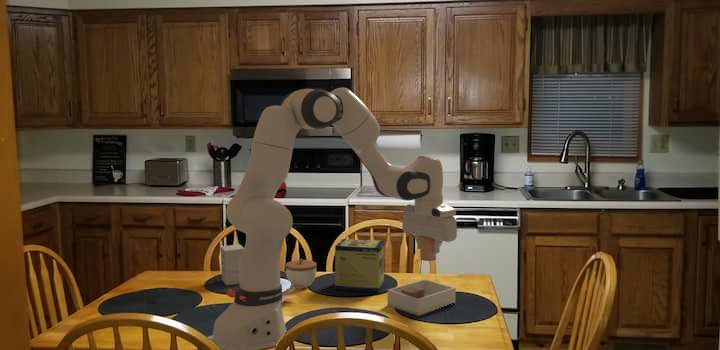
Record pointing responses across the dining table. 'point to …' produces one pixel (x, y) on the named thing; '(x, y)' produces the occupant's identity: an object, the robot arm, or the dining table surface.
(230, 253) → the supplement box
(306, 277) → the lidded jar
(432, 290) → the tote
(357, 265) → the protein box
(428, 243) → the terracotta cylinder
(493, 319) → the dining table surface
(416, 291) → the walnut cube
